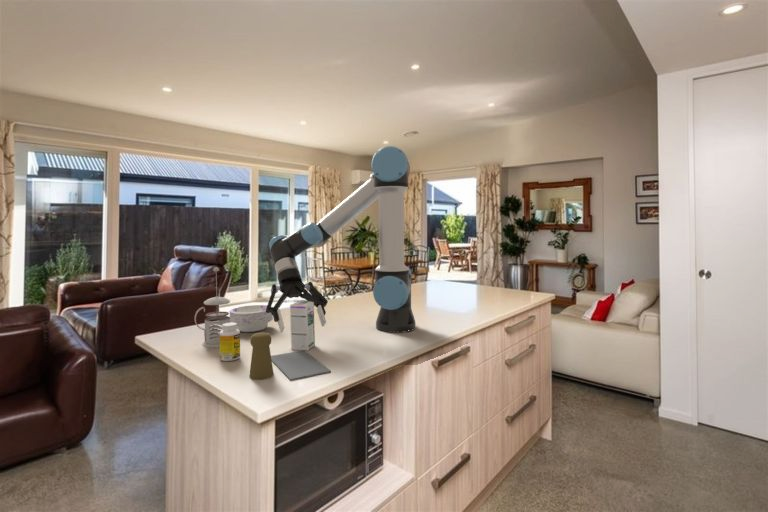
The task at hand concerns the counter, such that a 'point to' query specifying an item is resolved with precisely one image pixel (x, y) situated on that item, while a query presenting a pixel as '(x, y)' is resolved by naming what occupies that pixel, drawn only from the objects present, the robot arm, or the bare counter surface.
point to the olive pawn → (261, 356)
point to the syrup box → (302, 325)
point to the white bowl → (250, 317)
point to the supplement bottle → (229, 342)
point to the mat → (298, 365)
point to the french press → (210, 335)
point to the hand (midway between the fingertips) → (303, 326)
